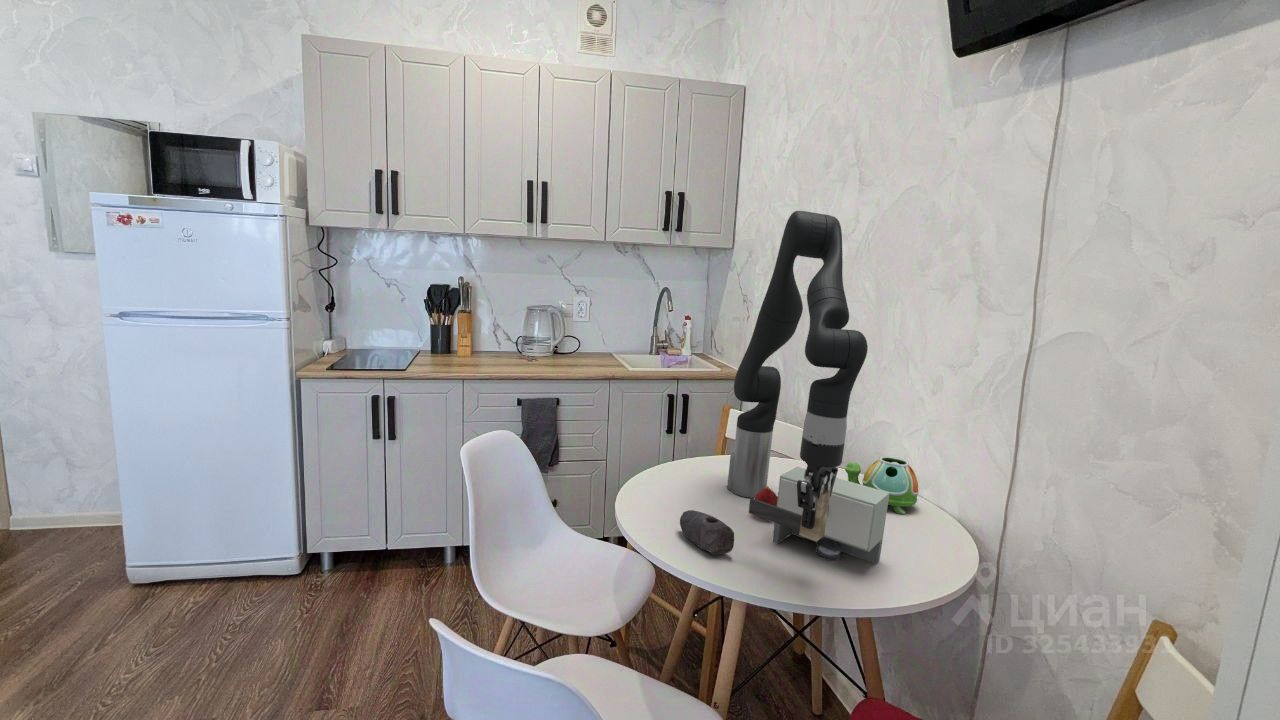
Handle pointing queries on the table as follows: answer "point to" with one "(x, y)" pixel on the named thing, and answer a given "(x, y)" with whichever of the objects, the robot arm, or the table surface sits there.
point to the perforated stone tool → (707, 532)
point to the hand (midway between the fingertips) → (811, 523)
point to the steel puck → (828, 549)
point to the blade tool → (794, 516)
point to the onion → (767, 496)
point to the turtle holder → (889, 480)
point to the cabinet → (841, 515)
